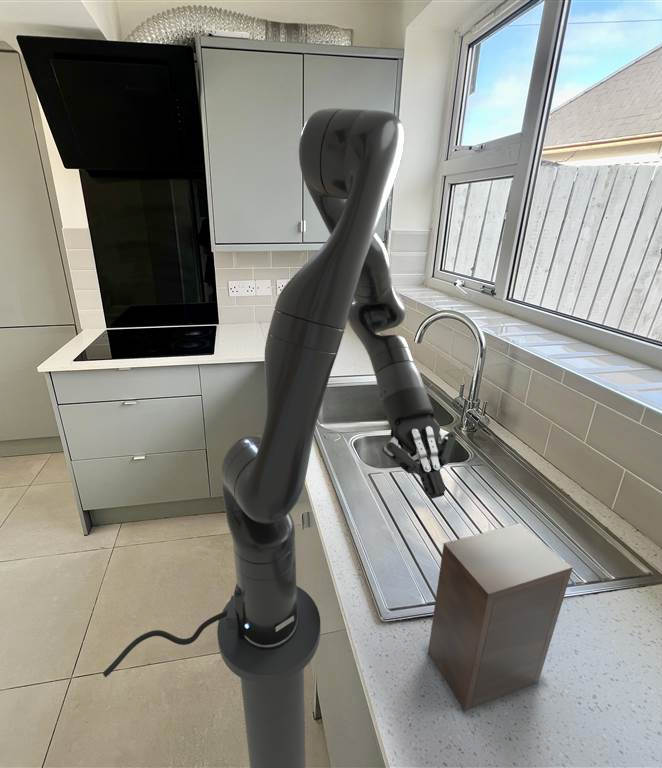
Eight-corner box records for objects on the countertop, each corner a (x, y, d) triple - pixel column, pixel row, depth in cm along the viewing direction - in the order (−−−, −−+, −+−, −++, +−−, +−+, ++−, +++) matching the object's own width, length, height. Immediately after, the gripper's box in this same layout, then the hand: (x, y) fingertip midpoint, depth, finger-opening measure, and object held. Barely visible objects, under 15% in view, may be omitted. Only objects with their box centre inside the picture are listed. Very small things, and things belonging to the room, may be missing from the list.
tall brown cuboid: (427, 652, 59) (443, 543, 51) (495, 628, 62) (519, 522, 55) (464, 711, 52) (488, 594, 44) (538, 681, 55) (573, 567, 48)
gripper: (375, 390, 63) (410, 501, 57) (447, 380, 67) (488, 484, 61) (360, 407, 70) (389, 509, 64) (426, 398, 74) (460, 493, 67)
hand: (437, 496), depth 62 cm, fingers closed
